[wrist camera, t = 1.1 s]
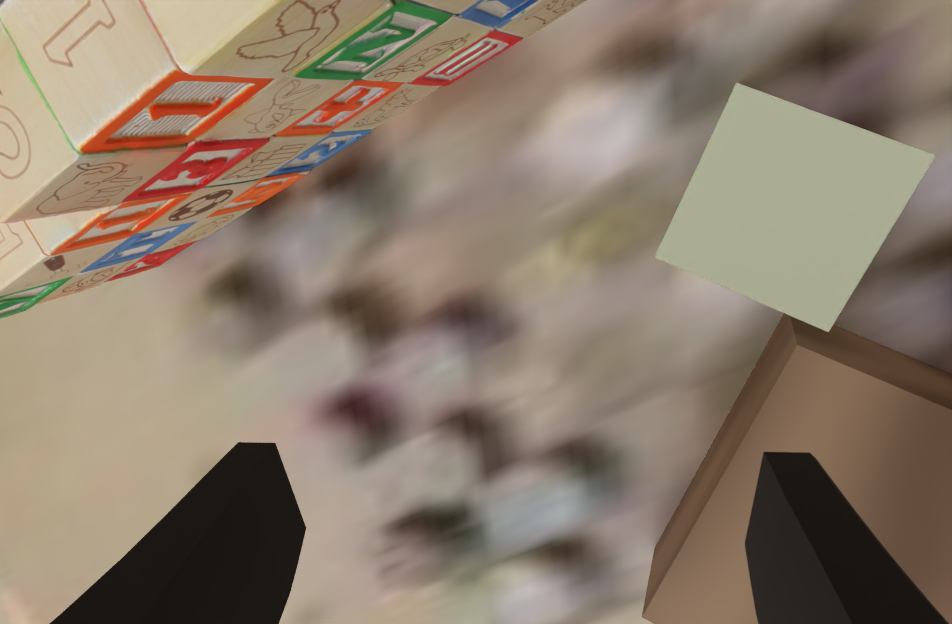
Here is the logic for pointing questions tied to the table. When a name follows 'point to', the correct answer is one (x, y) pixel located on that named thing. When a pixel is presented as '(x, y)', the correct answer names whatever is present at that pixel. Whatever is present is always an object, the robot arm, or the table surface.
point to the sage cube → (790, 205)
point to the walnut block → (840, 454)
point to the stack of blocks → (199, 114)
